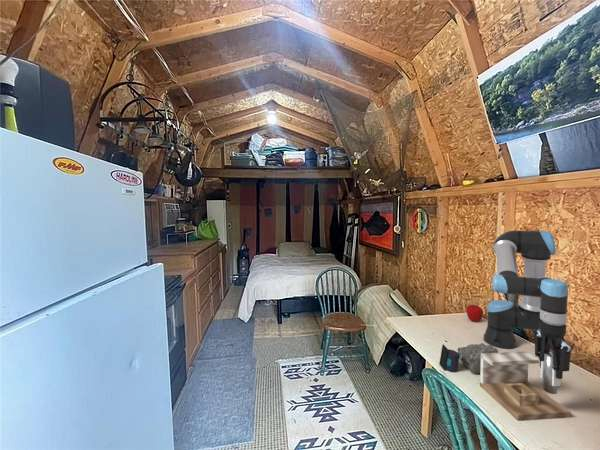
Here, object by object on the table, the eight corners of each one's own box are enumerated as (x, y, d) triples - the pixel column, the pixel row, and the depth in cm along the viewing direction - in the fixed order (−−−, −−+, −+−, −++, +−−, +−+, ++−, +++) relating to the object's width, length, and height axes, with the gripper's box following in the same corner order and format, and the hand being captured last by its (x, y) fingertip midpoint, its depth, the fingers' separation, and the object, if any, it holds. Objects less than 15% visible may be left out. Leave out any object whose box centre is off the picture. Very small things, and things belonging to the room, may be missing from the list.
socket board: (524, 383, 124) (525, 351, 123) (570, 417, 104) (571, 378, 103) (479, 385, 123) (480, 353, 122) (517, 420, 103) (518, 381, 102)
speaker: (439, 370, 135) (442, 348, 134) (439, 364, 140) (441, 343, 139) (458, 374, 132) (460, 353, 131) (456, 368, 137) (459, 348, 136)
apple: (469, 323, 187) (469, 307, 186) (463, 317, 196) (463, 302, 195) (485, 324, 185) (486, 307, 184) (479, 318, 194) (479, 302, 194)
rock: (513, 374, 125) (502, 353, 139) (495, 349, 125) (486, 331, 139) (472, 388, 132) (465, 366, 146) (455, 364, 133) (450, 345, 146)
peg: (550, 386, 110) (551, 352, 109) (560, 393, 106) (561, 357, 105) (540, 387, 110) (541, 352, 109) (549, 394, 106) (551, 358, 105)
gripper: (523, 313, 114) (522, 369, 116) (565, 332, 97) (562, 397, 99) (541, 312, 115) (539, 367, 116) (586, 331, 98) (583, 396, 99)
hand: (550, 381), depth 108 cm, fingers closed on peg, 4 cm apart
